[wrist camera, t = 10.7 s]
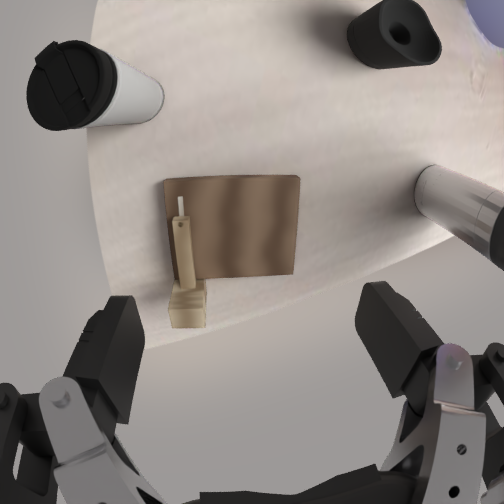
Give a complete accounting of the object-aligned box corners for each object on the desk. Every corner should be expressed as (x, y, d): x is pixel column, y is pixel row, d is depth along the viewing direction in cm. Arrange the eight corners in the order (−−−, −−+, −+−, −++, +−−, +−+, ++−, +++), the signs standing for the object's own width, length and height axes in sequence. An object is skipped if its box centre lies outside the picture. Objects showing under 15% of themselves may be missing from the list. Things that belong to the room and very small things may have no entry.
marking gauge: (200, 210, 36) (195, 234, 29) (206, 292, 42) (205, 327, 34) (167, 212, 35) (155, 236, 28) (178, 293, 41) (172, 328, 34)
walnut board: (296, 175, 35) (300, 178, 33) (289, 267, 42) (293, 274, 40) (166, 178, 34) (163, 182, 32) (176, 272, 40) (174, 280, 38)
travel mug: (151, 66, 27) (80, 16, 9) (172, 107, 30) (114, 92, 12) (110, 91, 27) (11, 78, 9) (130, 132, 30) (40, 152, 12)
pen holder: (338, 57, 28) (375, 41, 19) (347, 6, 24) (382, -18, 15) (394, 81, 30) (439, 78, 21) (401, 32, 26) (443, 20, 17)
